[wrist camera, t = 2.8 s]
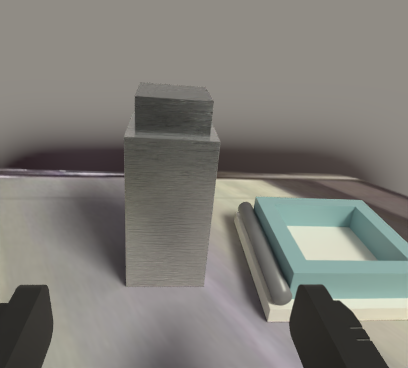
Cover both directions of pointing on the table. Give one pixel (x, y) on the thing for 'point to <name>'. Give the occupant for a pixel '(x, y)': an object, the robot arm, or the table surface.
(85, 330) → the table surface
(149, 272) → the stepped metal tower
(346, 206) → the tray
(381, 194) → the table surface
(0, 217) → the table surface
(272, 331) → the table surface
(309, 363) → the robot arm
